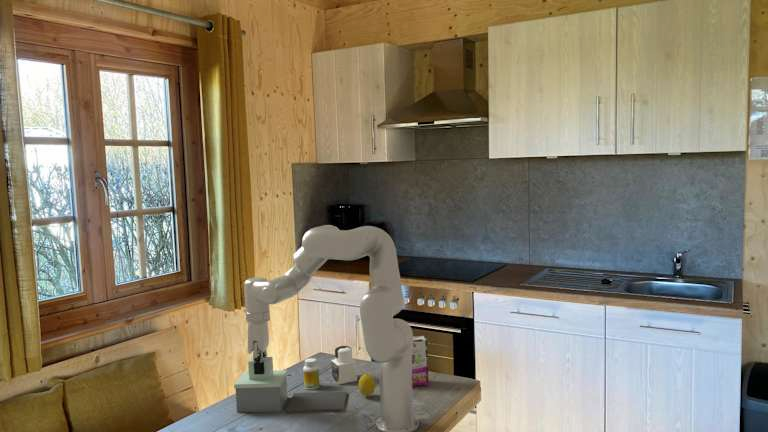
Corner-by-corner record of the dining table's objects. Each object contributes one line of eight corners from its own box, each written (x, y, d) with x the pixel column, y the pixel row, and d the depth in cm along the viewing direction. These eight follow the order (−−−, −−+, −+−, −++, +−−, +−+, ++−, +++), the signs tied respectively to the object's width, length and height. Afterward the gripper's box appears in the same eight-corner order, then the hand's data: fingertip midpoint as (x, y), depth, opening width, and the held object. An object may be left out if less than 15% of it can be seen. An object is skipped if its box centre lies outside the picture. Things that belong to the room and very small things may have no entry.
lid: (287, 376, 193) (286, 352, 193) (280, 389, 182) (279, 364, 181) (244, 377, 194) (242, 353, 193) (234, 391, 182) (233, 366, 181)
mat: (347, 393, 195) (347, 391, 195) (343, 411, 181) (343, 408, 181) (294, 395, 195) (294, 392, 195) (286, 412, 181) (286, 410, 181)
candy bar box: (426, 380, 204) (424, 335, 203) (428, 385, 199) (427, 339, 198) (394, 383, 203) (393, 337, 201) (396, 388, 198) (395, 341, 196)
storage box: (287, 397, 194) (286, 374, 193) (280, 411, 183) (279, 386, 182) (246, 398, 194) (244, 375, 193) (237, 412, 183) (235, 387, 182)
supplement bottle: (316, 390, 199) (315, 362, 198) (301, 389, 200) (300, 362, 199) (321, 384, 204) (320, 357, 203) (307, 383, 205) (305, 357, 204)
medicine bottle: (331, 378, 209) (330, 346, 208) (350, 374, 212) (348, 343, 211) (338, 385, 203) (337, 351, 202) (357, 381, 206) (356, 348, 205)
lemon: (366, 392, 195) (365, 369, 195) (379, 395, 192) (378, 372, 191) (355, 397, 191) (354, 374, 190) (368, 401, 188) (367, 377, 187)
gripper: (252, 310, 194) (255, 363, 196) (239, 323, 178) (242, 381, 179) (275, 309, 194) (277, 362, 196) (263, 322, 177) (266, 380, 179)
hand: (261, 370), depth 187 cm, fingers closed on lid, 4 cm apart
